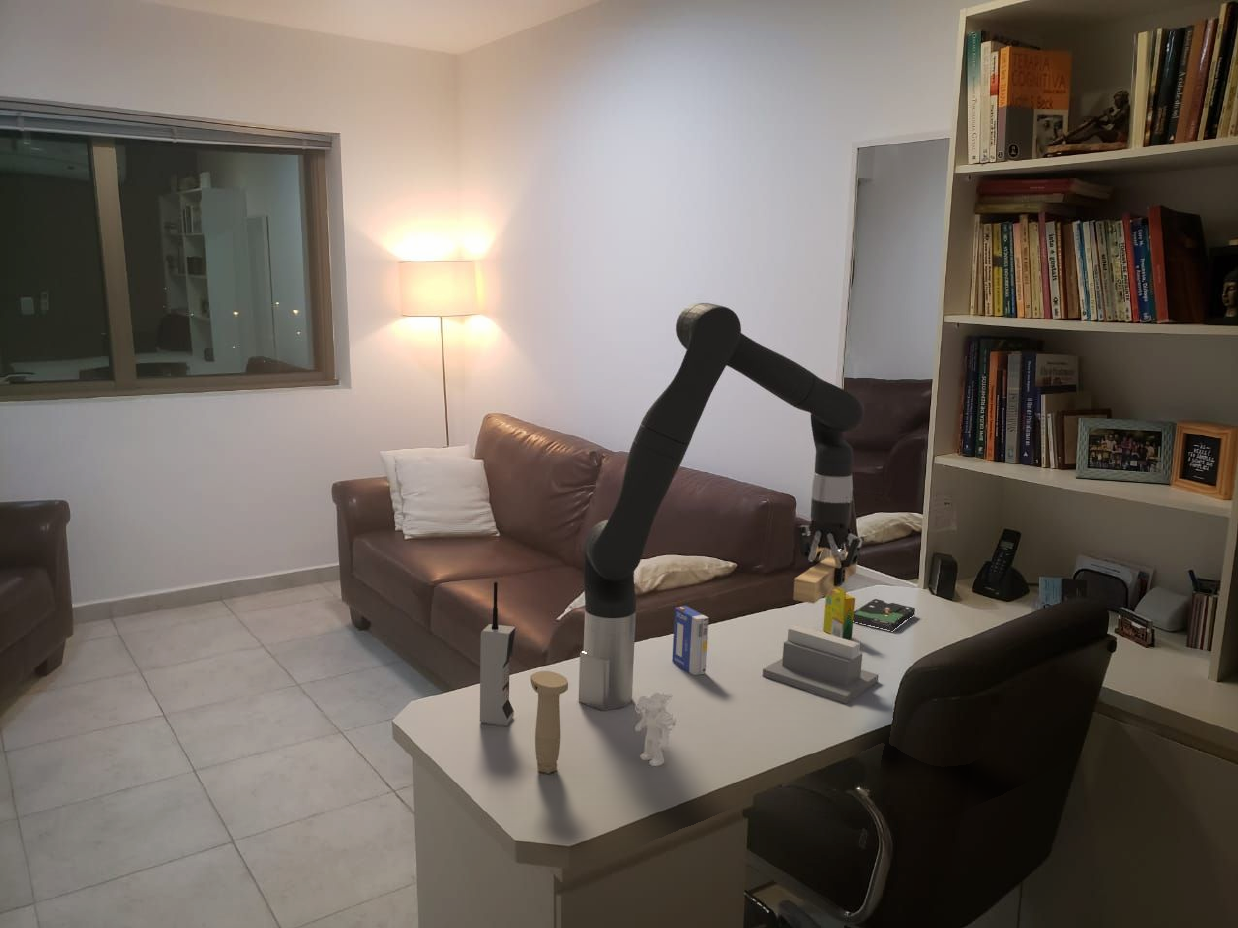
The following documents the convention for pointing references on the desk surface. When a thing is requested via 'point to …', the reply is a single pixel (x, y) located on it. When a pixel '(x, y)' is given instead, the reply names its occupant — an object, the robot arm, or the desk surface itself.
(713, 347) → the robot arm
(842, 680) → the balance stand
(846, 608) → the crayon box
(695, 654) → the walkman
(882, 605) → the disk drive
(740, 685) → the desk surface
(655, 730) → the white figurine
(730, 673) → the desk surface
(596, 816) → the desk surface
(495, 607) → the vintage mobile phone
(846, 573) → the oak bar
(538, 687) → the handle
